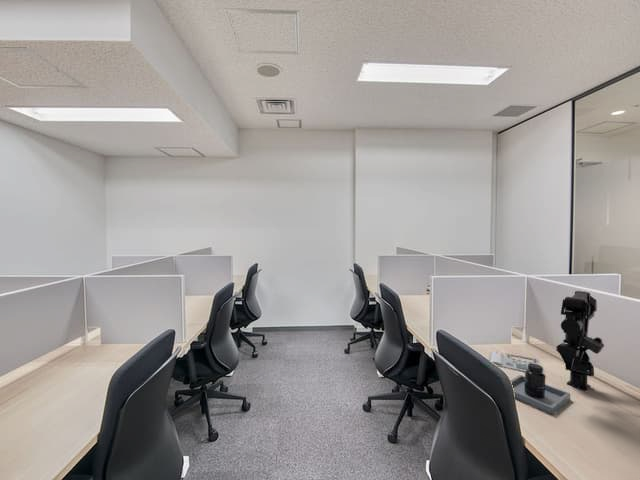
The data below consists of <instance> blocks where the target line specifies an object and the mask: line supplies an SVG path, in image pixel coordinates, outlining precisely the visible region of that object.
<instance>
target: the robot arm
mask: <svg viewBox="0 0 640 480" xmlns="http://www.w3.org/2000/svg"><path fill="white" fill-rule="evenodd" d="M597 310H598V303H597V299H595V298H594V297H593V296H592V295H591V292H588V291H582V290H581V291H579V290H575V291H574V294H573V295H572V296H566V297H565V298H563V299H562V305H561V311H560V315H562V316H565V318H564V319H563V320H562V321H561V323H560V328H561V329H562V331H563V334H564V335H565V337H564V339H563V341H562V343H559V344H558V345H556V349H555V350H556V352H557V353H558V354H559V355H560V357H561V358H562V360H563V362H564V364H565V366H564V367H565V370H566V371H569V375H570V376H569V380H568V381H566V384H567V385H569V386H572V387H575V388H578V389H580V390H582V391H587V390H589V388H590V387H591V385H590V384H588V378H589V377H594V376H595V367H594V365H593V363H592V362H591V358H590V356H589V354H588V352H587V351H588V350H589V351H592V352H593V353H594V354H596V355H597V354H599V353H601V352H602V350H603V348H604V347H605V343H603V339H602V338H600V337H598V336H597V337H595V338H593V337H590V336H589V335H588V333H589V326H590V325H589V323H590V320H591V319H592V318H594V317H595V312H597Z"/></svg>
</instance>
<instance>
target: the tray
mask: <svg viewBox="0 0 640 480" xmlns="http://www.w3.org/2000/svg"><path fill="white" fill-rule="evenodd" d="M510 380H511V382H512V385H513V388H514V393H515V398H516V399H515V398H514V399H515V400H517V401H519V402H522V403H524V404H527V405H528V406H530V407H533V408H536V409H538V410H540V411H543V412H545V413H547V414H549V415H551V416H553V415H554V414H556V413H557V412H558V411H559V410H560V409H561V408H563V407H564V406H565V405H566V404H567V403H568V402H570V401H571V393H570V392H567V391H565V390H562V389H559V388H557V387H554V386H551V385H549V384H547V383H545V397H544V398H535V397H532V396H529V395H528V394H526V393H525V390H524V387H525V375H521V374H519V375H517V376H516V377H514V378H512V379H510Z"/></svg>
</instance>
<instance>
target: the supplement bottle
mask: <svg viewBox="0 0 640 480" xmlns="http://www.w3.org/2000/svg"><path fill="white" fill-rule="evenodd" d="M543 371H544V369H543V366H542V365H541V366H540V364H539V365H537V364H533V363H530V364H528V370H526V371H525V372H524V376H525V387H524V390H525V393H526V394H528V395H529V396H532V397H535V398H544V397H545V384H546V375H544V374H545V373H544V374H543V373H542V372H543Z"/></svg>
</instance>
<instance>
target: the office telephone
mask: <svg viewBox="0 0 640 480" xmlns="http://www.w3.org/2000/svg"><path fill="white" fill-rule="evenodd" d="M512 357H514V358H512ZM519 357H520V358H521V359H525V360H521V359H517V358H519ZM515 358H516V359H515ZM488 360H490V361H491V362H493V363H494V364H496V365H497V366H496V367H499V368H503V367H504V369H509V370H513V371H517V372H523V373H525V371H526V370H528V364H530V363H533V364H537V365H540V364H539V358H535V357H530V356H526V355H525V356H524V355H519V354H514V353H508V352H506V353H505V356H504V353H503V352H500V351H497V350H496V351H495V350H494V351H490V352H489V356H488ZM527 360H530V361H527ZM532 360H533V361H532ZM540 366H542V365H540ZM542 373H543V374H544V375H545V371H544V370H543V372H542ZM545 376H546V375H545Z"/></svg>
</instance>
